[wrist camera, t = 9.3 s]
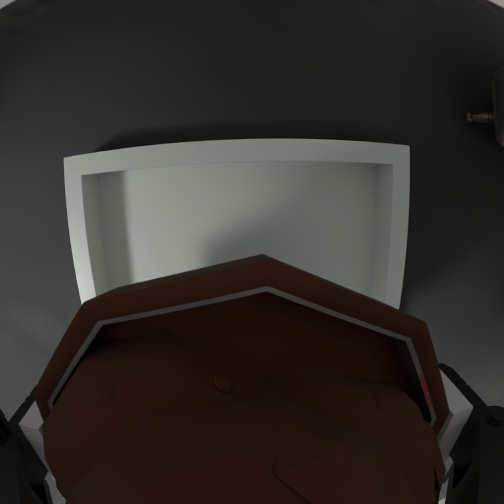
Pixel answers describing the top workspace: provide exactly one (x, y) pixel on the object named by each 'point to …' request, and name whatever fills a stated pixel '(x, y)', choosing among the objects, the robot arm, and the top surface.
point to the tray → (241, 211)
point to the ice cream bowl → (243, 394)
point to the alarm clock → (500, 84)
